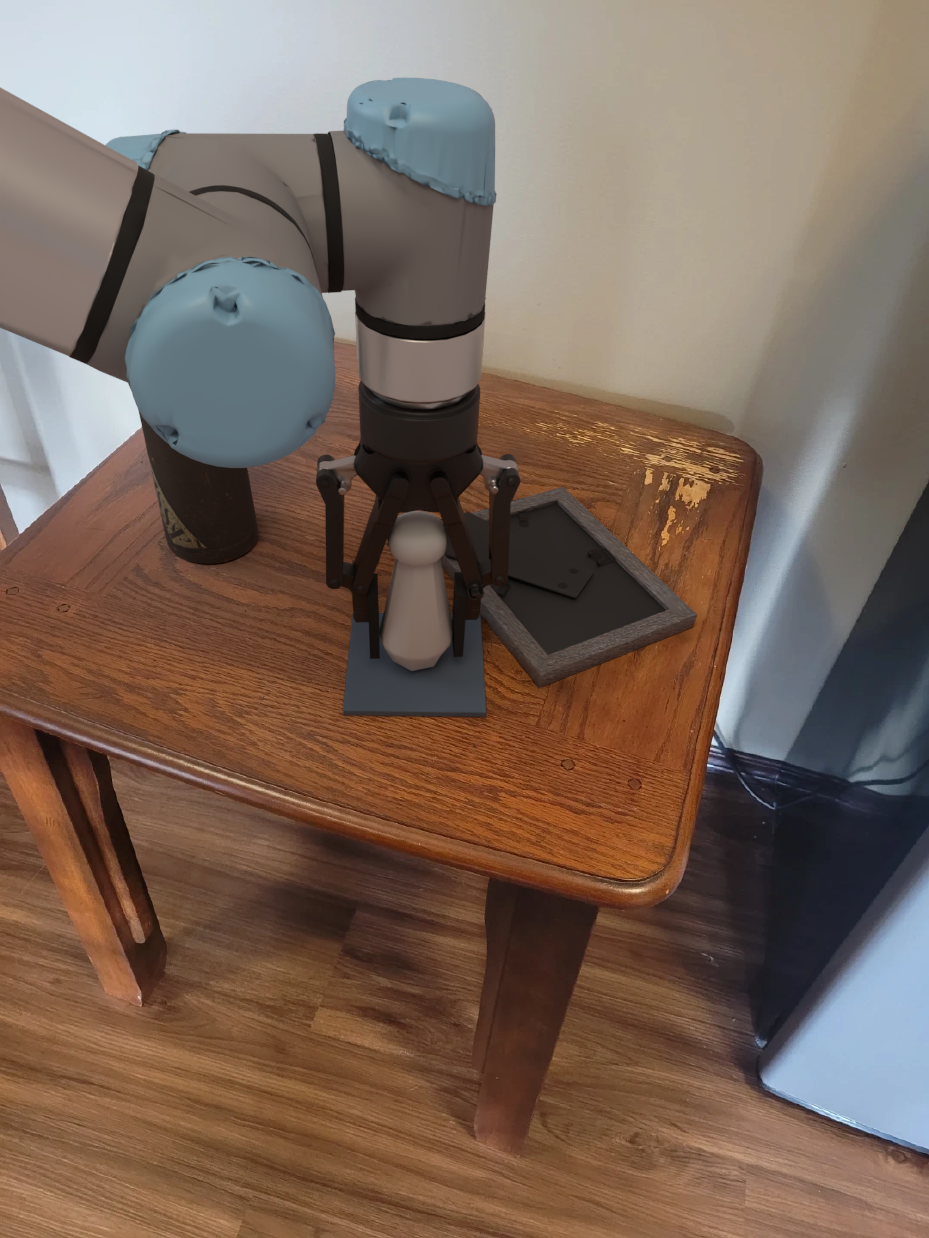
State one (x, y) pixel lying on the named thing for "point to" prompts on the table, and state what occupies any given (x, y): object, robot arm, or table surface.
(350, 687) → the mat
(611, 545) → the picture frame
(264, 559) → the table surface
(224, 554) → the container
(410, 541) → the salt shaker
